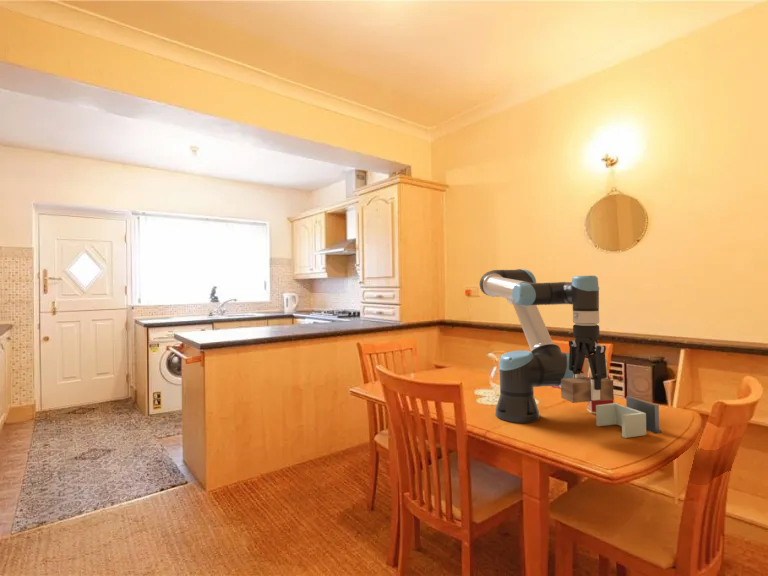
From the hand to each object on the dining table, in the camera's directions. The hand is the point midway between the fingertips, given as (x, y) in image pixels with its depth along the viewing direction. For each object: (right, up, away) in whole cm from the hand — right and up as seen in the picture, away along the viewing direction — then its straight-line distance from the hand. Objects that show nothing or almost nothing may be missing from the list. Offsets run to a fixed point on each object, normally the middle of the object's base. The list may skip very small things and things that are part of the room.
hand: (587, 396), depth 129 cm
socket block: (+12, -12, +3) cm, 17 cm away
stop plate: (+21, -12, +5) cm, 25 cm away
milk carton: (+17, -12, +23) cm, 31 cm away
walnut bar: (0, -1, 0) cm, 1 cm away
